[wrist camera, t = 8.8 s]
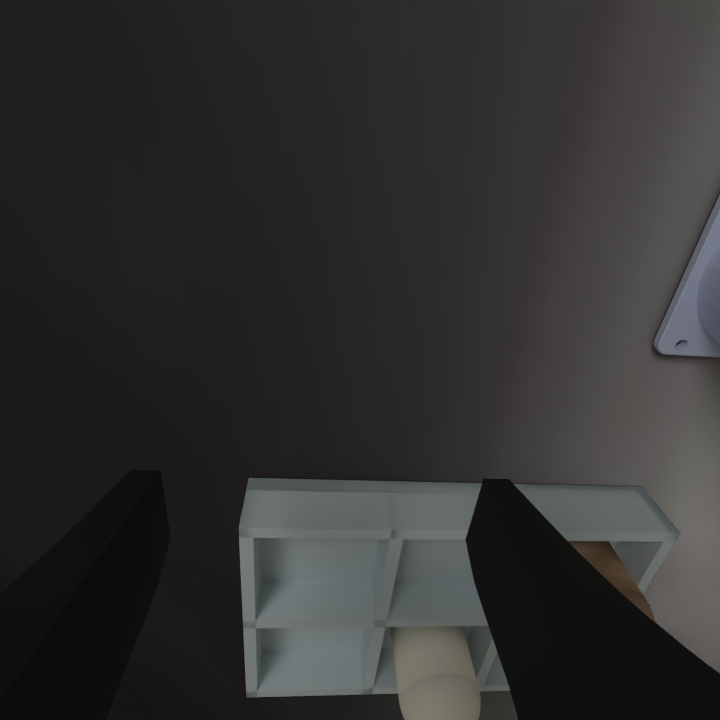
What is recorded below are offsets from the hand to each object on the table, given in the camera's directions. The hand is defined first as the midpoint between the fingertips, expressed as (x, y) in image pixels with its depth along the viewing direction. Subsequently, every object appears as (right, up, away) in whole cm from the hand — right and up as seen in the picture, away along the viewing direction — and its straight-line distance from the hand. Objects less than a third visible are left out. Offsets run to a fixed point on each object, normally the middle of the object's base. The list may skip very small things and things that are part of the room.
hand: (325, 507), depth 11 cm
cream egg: (+5, -12, +17) cm, 21 cm away
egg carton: (+5, -9, +16) cm, 19 cm away
